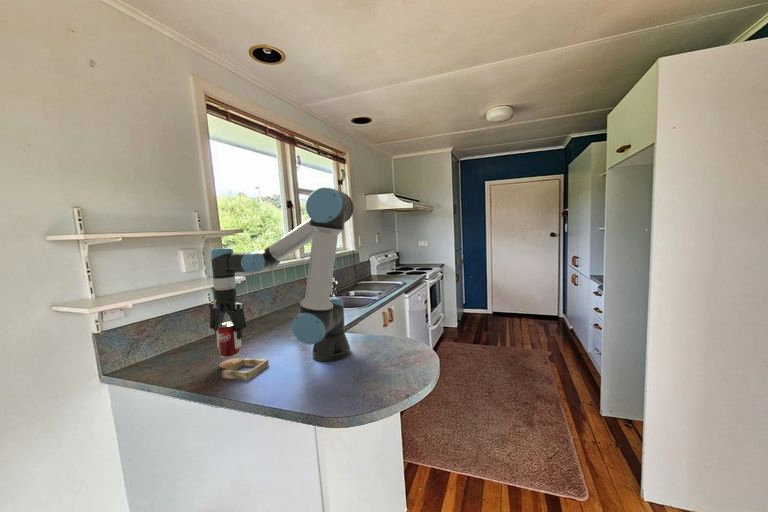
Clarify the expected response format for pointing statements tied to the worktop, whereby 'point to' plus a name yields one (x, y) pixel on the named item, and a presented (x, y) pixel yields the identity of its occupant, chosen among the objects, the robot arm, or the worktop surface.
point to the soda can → (227, 340)
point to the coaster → (229, 362)
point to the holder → (245, 375)
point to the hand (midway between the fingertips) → (229, 346)
